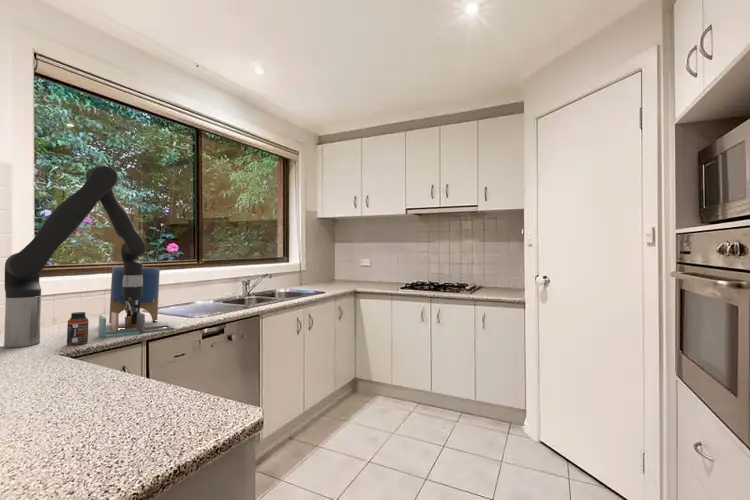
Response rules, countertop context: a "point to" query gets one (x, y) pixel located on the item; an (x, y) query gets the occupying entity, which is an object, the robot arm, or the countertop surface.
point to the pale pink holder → (115, 322)
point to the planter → (145, 300)
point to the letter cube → (129, 323)
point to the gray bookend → (143, 329)
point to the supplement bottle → (77, 329)
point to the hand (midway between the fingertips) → (131, 322)
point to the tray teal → (113, 333)
